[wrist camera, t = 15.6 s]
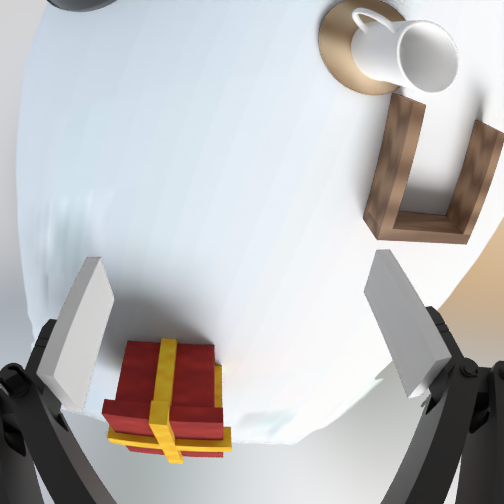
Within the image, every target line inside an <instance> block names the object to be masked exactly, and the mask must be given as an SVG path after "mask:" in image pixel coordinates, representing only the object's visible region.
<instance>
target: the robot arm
mask: <svg viewBox="0 0 504 504" xmlns="http://www.w3.org/2000/svg"><path fill="white" fill-rule="evenodd" d="M47 1H48V2H49V3H50V4H52V5H53V6H55V7H57V8H59V9H62V10H67V11H74V12H87V11H92V10H96V9H99V8H102V7H105V6H107V5H109V4H111V3H113V2H115V1H116V0H47ZM364 294H365V296H366V298H367V300H368V302H369V305H370V307H371V309H372V311H373V314H374V316H375V318H376V321H377V323H378V325H379V328H380V330H381V332H382V335H383V337H384V339H385V342H386V344H387V347H388V349H389V351H390V354H391V356H392V359H393V361H394V364H395V366H396V369H397V371H398V374H399V376H400V379H401V382H402V384H403V387H404V390H405V393H406V395H407V398H412V397H416V396H419V395H422V394H423V393H424V392H425V391H426V390H427V388H428V387H429V390H430V392H431V394H430V395H429V397H427V398H426V400H425V401H424V402H423V403H422V405H421V407H423V406H424V405H425V404H426V405H425V408H424V410H423V413H422V416H421V418H420V421H419V424H418V426H417V429H416V431H415V434H414V436H413V438H412V441H411V443H410V446H409V448H408V450H407V452H406V455H405V457H404V459H403V461H402V463H401V465H400V467H399V470H398V472H397V474H396V476H395V478H394V480H393V482H392V484H391V485H390V487H389V489H388V491H387V493H386V495H385V497H384V499H383V501H382V502H381V504H443V503H444V501H445V499H446V496H447V493H448V491H449V488H450V486H451V483H452V481H453V478H454V475H455V472H456V469H457V466H458V463H459V460H460V457H461V466H460V474H459V482H458V489H457V495H456V502H455V504H504V361H498V362H497V363H495V365H494V366H493V367H492V368H486V367H478V365H477V364H476V363H475V362H474V361H473V360H471V359H469V358H464V356H463V355H462V353H461V351H460V349H459V347H458V345H457V343H456V342H455V340H454V338H453V336H452V334H451V333H450V332H449V329H448V327H447V325H446V324H445V322H444V320H443V318H442V317H441V315H440V313H439V312H437V311H436V310H435V309H434V308H433V307H432V306H429V307H425V306H424V304H423V303H422V301H421V299H420V297H419V296H418V294H417V292H416V291H415V289H414V287H413V286H412V284H411V282H410V281H409V279H408V277H407V276H406V274H405V273H404V271H403V269H402V268H401V266H400V265H399V263H398V261H397V260H396V258H395V257H394V255H393V254H392V252H391V251H390V249H389V250H376V253H375V256H374V260H373V263H372V267H371V270H370V273H369V276H368V280H367V283H366V286H365V289H364ZM114 300H115V298H114V296H113V293H112V290H111V287H110V284H109V281H108V278H107V275H106V272H105V269H104V265H103V262H102V259H101V257H87V258H86V260H85V262H84V264H83V266H82V268H81V270H80V272H79V274H78V276H77V278H76V280H75V282H74V284H73V286H72V288H71V290H70V292H69V295H68V297H67V299H66V301H65V303H64V306H63V308H62V310H61V312H60V315H59V317H58V319H57V320H55V319H49V320H48V322H47V323H46V324H45V325H44V326H43V327H42V329H41V331H40V334H39V336H38V339H37V341H36V343H35V347H34V348H33V351H32V353H31V356H30V358H29V361H28V363H27V366H26V369H25V370H24V369H23V367H22V366H21V365H19V364H17V363H10V364H8V365H6V366H5V367H3V368H2V370H1V371H0V387H1V388H0V504H44V501H43V498H42V494H41V491H40V487H39V484H38V480H37V475H36V471H35V467H34V464H35V466H36V468H37V470H38V472H39V474H40V476H41V478H42V480H43V482H44V484H45V486H46V488H47V490H48V491H49V494H50V496H51V497H52V499H53V501H54V503H55V504H117V503H116V502H115V500H114V499H113V498H112V496H111V495H110V493H109V492H108V490H107V489H106V488H105V486H104V485H103V483H102V482H101V480H100V479H99V477H98V475H97V474H96V472H95V471H94V469H93V468H92V466H91V464H90V463H89V461H88V460H87V458H86V456H85V454H84V453H83V451H82V449H81V448H80V446H79V444H78V442H77V441H76V439H75V437H74V435H73V433H72V431H71V430H70V428H69V426H68V424H67V422H66V420H65V418H64V416H63V414H62V413H61V411H60V408H61V404H62V405H63V406H64V407H65V408H66V409H67V410H69V411H75V412H81V413H83V412H84V408H85V403H86V399H87V395H88V390H89V386H90V382H91V378H92V374H93V370H94V367H95V363H96V359H97V356H98V352H99V349H100V345H101V342H102V338H103V335H104V331H105V328H106V325H107V322H108V318H109V315H110V312H111V309H112V306H113V303H114ZM461 454H462V456H461ZM33 461H34V462H33Z"/></svg>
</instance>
